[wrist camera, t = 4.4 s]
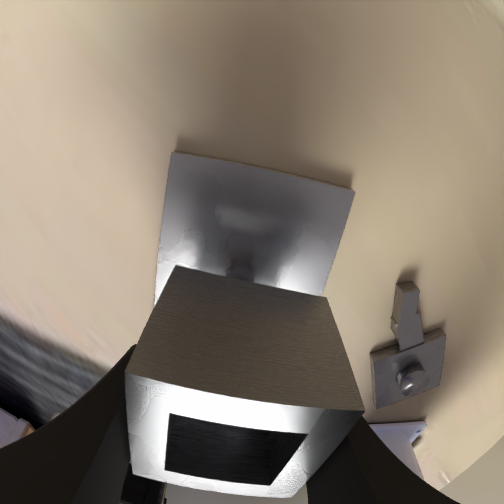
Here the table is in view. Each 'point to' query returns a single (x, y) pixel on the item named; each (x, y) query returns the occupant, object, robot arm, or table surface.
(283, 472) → the gray hollow cube
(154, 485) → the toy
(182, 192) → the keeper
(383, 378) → the gray t-shaped latch
